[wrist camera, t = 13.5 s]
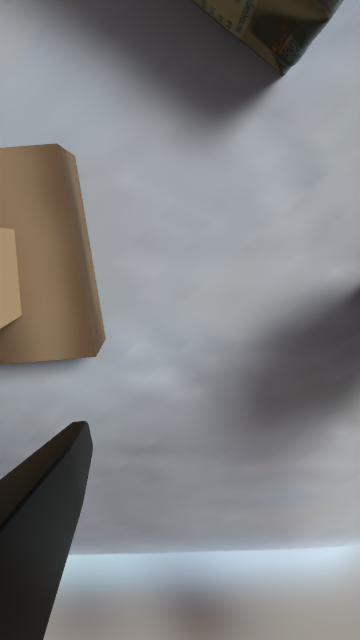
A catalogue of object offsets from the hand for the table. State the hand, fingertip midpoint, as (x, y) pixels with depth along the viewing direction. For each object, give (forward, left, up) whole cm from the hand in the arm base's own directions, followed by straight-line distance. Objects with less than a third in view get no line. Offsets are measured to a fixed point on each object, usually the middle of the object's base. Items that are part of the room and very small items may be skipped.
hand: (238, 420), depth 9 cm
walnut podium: (+13, -4, -13) cm, 19 cm away
